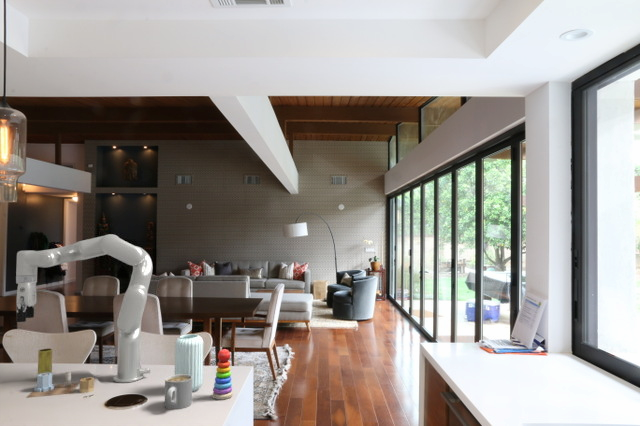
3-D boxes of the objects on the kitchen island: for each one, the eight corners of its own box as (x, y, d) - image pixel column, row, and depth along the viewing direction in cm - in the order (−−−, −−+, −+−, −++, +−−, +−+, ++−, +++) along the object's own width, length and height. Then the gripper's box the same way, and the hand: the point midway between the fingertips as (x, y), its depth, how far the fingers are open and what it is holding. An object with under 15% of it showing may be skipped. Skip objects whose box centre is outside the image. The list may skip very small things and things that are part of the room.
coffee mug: (175, 398, 178) (175, 373, 178) (196, 401, 175) (197, 375, 175) (152, 411, 165) (153, 383, 165) (175, 414, 162) (176, 386, 162)
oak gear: (97, 390, 187) (98, 376, 187) (94, 396, 180) (94, 381, 180) (79, 392, 185) (79, 377, 185) (75, 398, 178) (75, 382, 178)
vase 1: (44, 385, 194) (45, 351, 194) (32, 384, 195) (33, 351, 196) (55, 380, 200) (56, 348, 200) (43, 379, 201) (45, 347, 202)
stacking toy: (222, 401, 174) (223, 353, 175) (208, 397, 178) (208, 350, 180) (236, 395, 181) (237, 348, 182) (222, 392, 185) (222, 346, 186)
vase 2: (194, 395, 182) (195, 339, 183) (169, 393, 184) (169, 338, 185) (207, 385, 193) (208, 333, 194) (182, 384, 195) (183, 332, 196)
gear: (52, 385, 189) (53, 370, 189) (55, 389, 184) (56, 374, 184) (33, 388, 185) (33, 374, 185) (35, 393, 179) (36, 378, 180)
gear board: (79, 386, 192) (80, 368, 193) (71, 397, 179) (72, 378, 179) (37, 389, 188) (37, 371, 188) (26, 401, 174) (26, 382, 175)
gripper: (29, 281, 184) (28, 322, 183) (42, 277, 200) (41, 315, 200) (8, 281, 182) (7, 324, 181) (23, 277, 198) (22, 316, 197)
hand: (25, 319), depth 190 cm, fingers open, 9 cm apart
